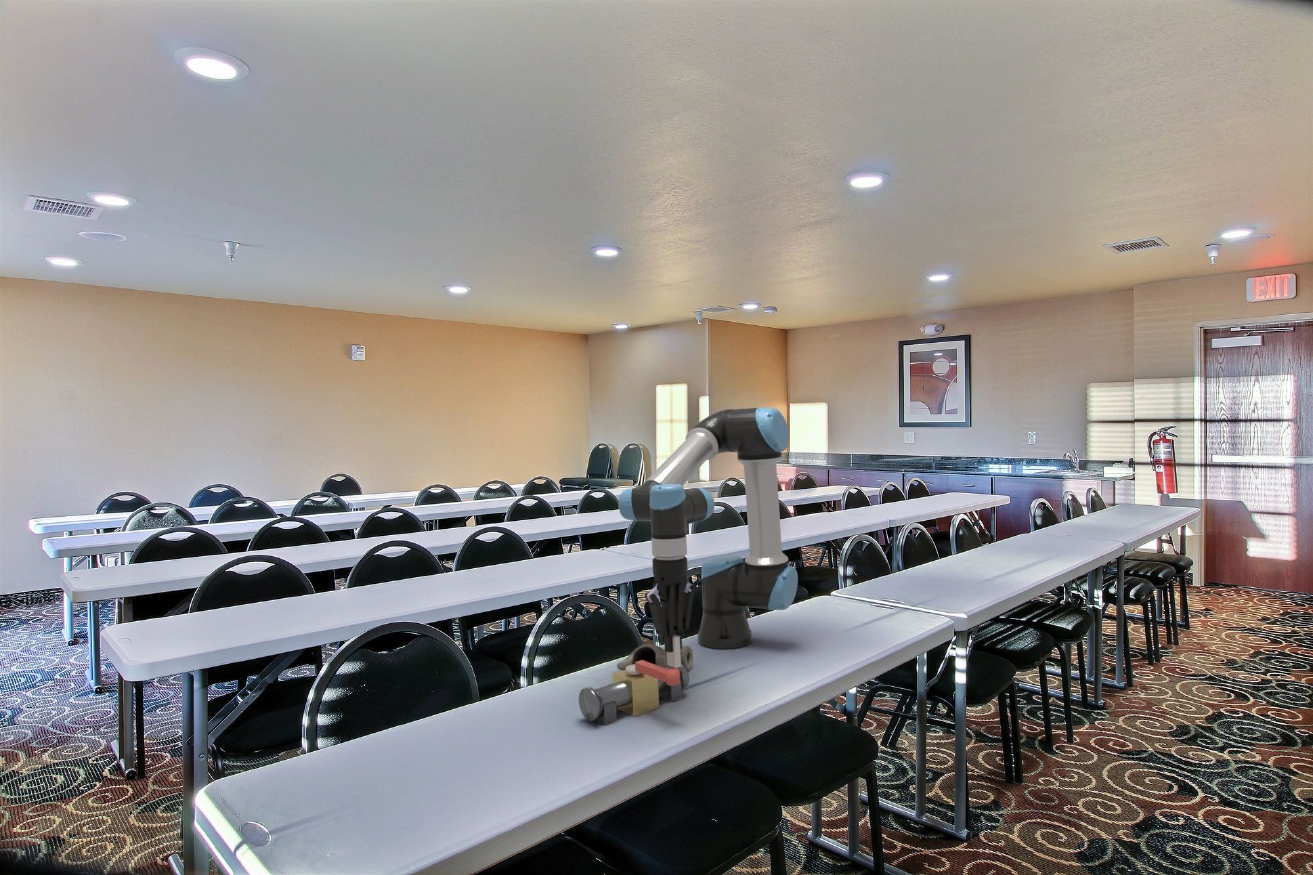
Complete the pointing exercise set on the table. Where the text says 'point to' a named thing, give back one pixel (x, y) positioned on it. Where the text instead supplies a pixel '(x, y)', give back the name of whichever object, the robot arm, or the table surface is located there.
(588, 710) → the valve pipe
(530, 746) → the table surface
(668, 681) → the lever
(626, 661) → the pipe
